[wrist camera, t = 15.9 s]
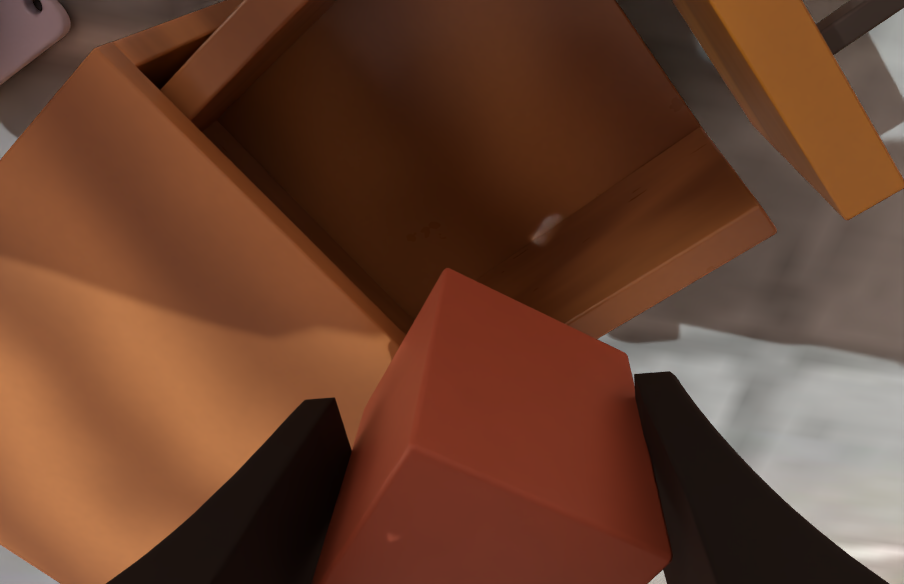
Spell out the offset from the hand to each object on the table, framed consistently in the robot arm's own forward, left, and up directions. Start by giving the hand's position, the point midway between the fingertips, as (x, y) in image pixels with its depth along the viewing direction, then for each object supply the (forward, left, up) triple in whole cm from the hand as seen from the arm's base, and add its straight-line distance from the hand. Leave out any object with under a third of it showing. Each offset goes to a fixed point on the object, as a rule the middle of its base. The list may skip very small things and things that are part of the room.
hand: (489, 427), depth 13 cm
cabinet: (-2, -9, -10) cm, 14 cm away
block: (0, 0, -1) cm, 1 cm away
